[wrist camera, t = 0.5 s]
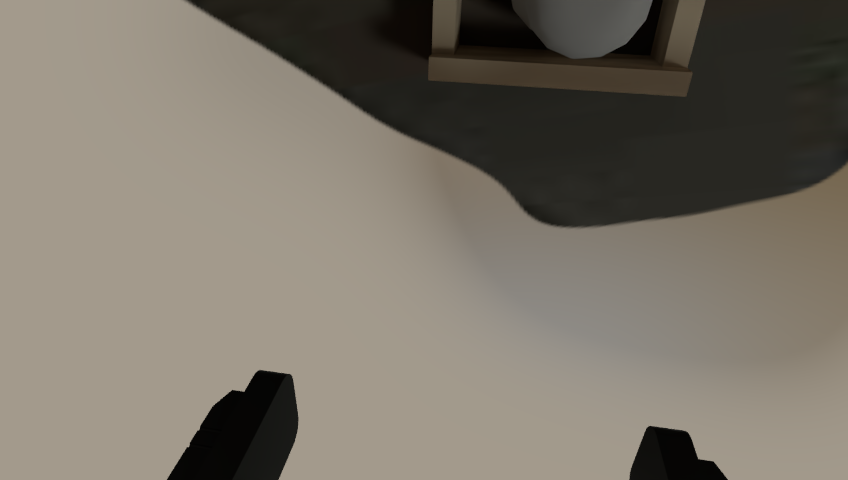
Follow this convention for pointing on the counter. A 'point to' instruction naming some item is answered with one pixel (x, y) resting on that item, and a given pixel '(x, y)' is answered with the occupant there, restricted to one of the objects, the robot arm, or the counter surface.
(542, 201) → the counter surface
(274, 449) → the robot arm
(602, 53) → the salt shaker
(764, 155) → the counter surface
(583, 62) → the frame
